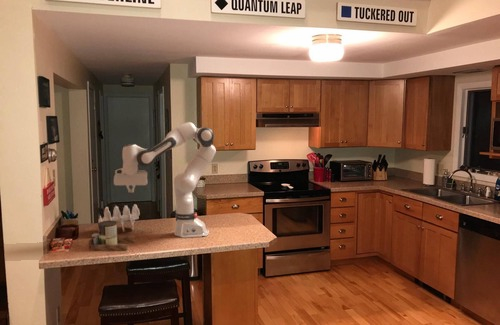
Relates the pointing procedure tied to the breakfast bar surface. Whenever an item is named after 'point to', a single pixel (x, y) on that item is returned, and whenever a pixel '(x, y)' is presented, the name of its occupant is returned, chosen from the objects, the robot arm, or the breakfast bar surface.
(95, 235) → the pusher
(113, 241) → the coffee can
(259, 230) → the breakfast bar surface
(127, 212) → the white spiky piece
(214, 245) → the breakfast bar surface
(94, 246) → the brown tray
